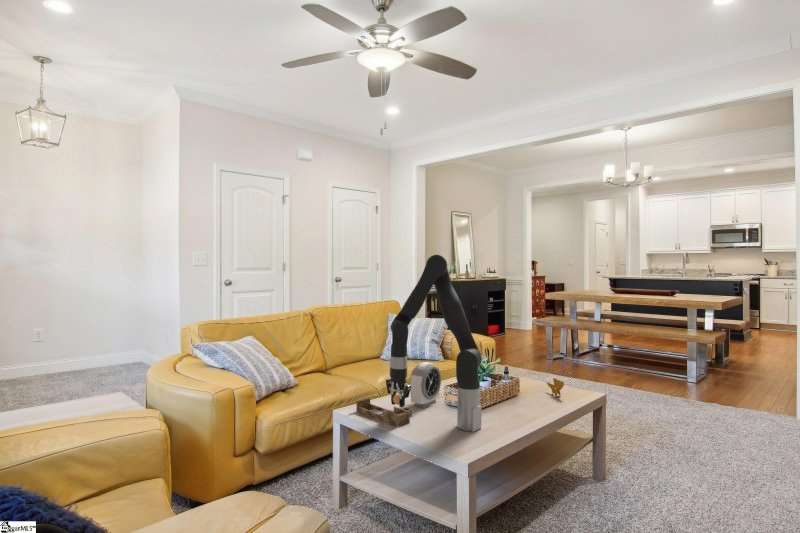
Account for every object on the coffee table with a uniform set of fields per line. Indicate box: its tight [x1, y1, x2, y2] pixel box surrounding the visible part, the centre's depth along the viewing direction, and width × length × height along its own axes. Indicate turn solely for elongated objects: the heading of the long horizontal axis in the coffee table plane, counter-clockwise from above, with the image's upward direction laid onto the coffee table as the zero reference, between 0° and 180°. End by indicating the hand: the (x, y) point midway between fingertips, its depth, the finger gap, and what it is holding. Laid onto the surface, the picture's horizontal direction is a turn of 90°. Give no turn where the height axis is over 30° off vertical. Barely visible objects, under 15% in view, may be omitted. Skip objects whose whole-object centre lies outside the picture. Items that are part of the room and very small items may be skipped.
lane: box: [355, 397, 411, 428], centre depth 199 cm, size 27×7×5 cm, turn 45°
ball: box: [393, 393, 400, 405], centre depth 193 cm, size 4×4×4 cm
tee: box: [402, 407, 413, 417], centre depth 202 cm, size 4×4×3 cm
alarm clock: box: [409, 361, 442, 409], centre depth 218 cm, size 18×8×20 cm, turn 143°
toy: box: [545, 377, 565, 397], centre depth 235 cm, size 3×16×10 cm, turn 14°
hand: (397, 405), depth 193 cm, fingers closed on ball, 4 cm apart
